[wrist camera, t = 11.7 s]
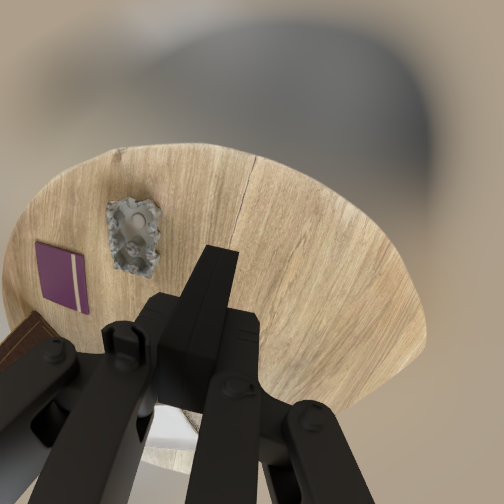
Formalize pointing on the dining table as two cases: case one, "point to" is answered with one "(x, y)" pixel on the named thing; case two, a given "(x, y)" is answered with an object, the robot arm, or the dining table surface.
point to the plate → (171, 430)
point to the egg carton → (133, 235)
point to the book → (24, 339)
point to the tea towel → (62, 277)
